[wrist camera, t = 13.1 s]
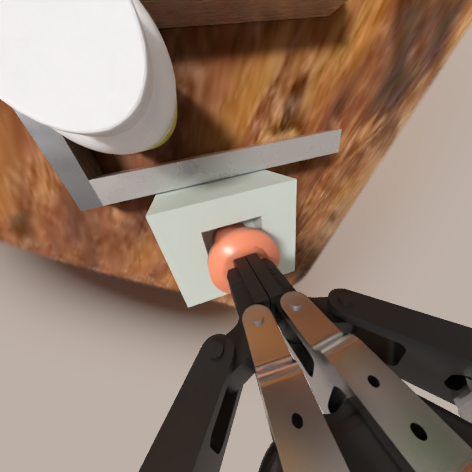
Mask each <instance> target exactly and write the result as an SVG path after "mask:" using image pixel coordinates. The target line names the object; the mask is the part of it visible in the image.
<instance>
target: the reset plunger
mask: <svg viewBox="0 0 472 472" xmlns="http://www.w3.org/2000/svg"><path fill="white" fill-rule="evenodd" d="M212 243H213V246H212V247H211V249H210V252H209V255H208V260H207V263H208V269H209V273H210V277H211V280H212V282H213V284H214V285H215V286H216V287H217V288H218V289H219V290H221V291H223V292H225V293H228V294H231V291H230V287H229V283H228V279H227V273H228V270H229V269H232V268H235V267H234V262H233V260H234V259H237V258H240V257H243V256H246V255H249V254H253V253H256V254H257V255H258V256H259V258H260V259H263V258H267V259H269V260H271V261H272V262H273V263H274V264H275V265H276V267H278V264H279V260H280V255H279V250H278V247H277V245H276V244H275V243H274V242H273V241H272V239H271V238H270V237H269V236H268V235H267V234H266V233H264V232H263V231H261V230H259V229H257V228H253V227H245V225H243V224H242V223H240V222H238V223H234V224H231V225H227V226H223V227H220V228H217V229H216V230H215V232H214V234H213V237H212Z"/></svg>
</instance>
